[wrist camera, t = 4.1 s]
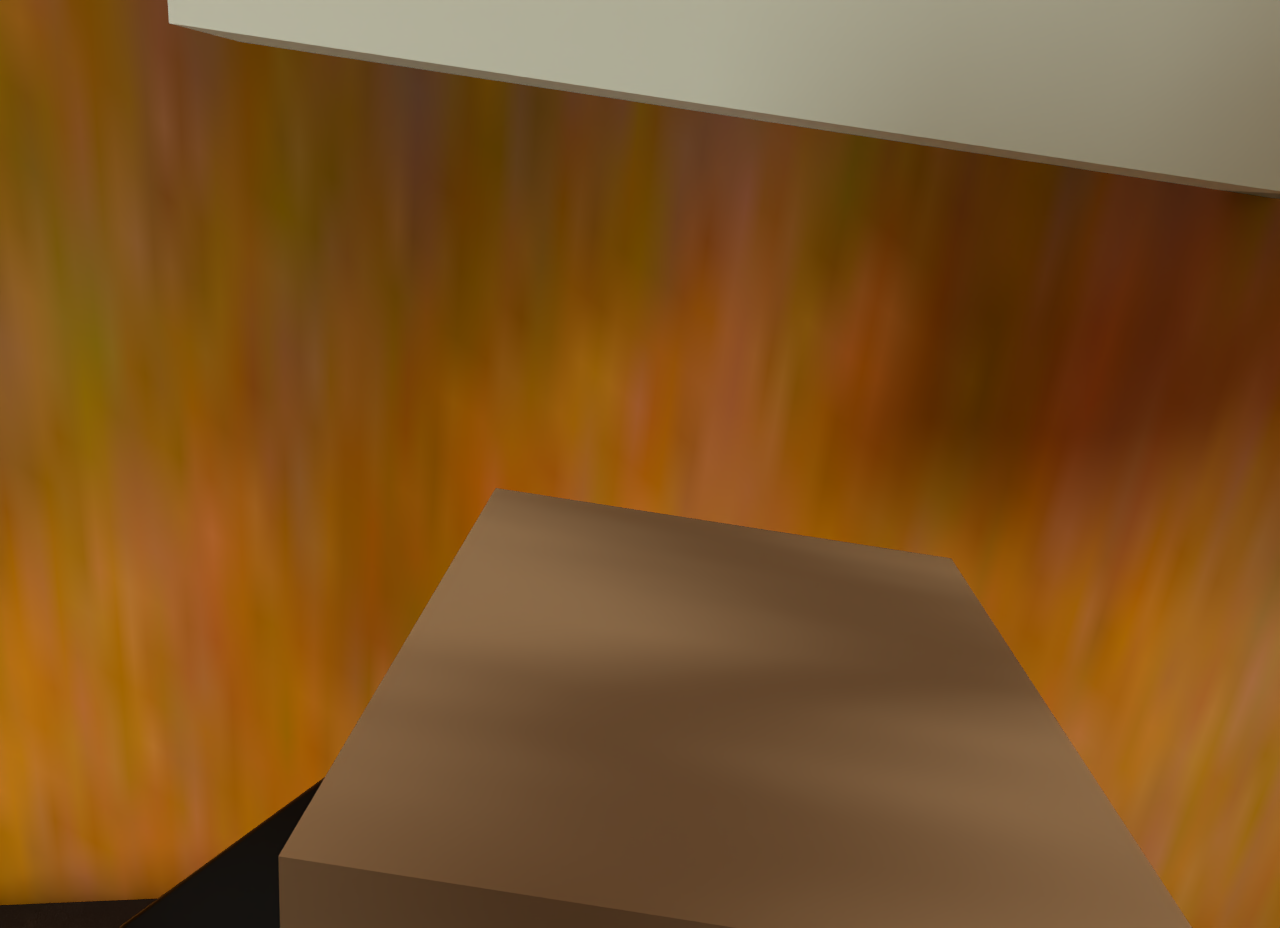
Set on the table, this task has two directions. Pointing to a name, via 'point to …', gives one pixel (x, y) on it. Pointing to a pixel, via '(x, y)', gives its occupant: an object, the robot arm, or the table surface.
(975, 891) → the maple block
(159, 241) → the table surface
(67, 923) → the ammunition clip
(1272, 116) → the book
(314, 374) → the table surface
